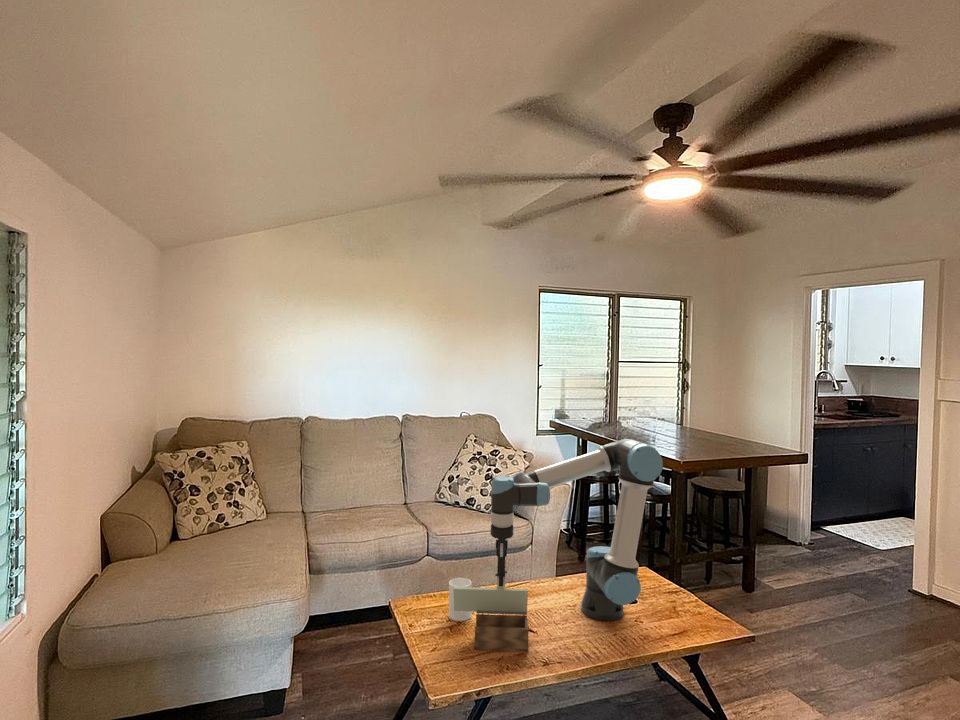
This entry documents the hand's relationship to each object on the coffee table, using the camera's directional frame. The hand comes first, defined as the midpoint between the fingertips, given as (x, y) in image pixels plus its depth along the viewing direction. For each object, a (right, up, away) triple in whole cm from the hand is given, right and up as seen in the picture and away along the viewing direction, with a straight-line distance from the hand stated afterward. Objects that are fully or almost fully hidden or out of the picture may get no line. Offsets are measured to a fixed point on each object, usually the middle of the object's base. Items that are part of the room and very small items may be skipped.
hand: (500, 594), depth 177 cm
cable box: (0, -14, -4) cm, 15 cm away
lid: (-4, -3, -1) cm, 4 cm away
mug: (-14, -14, +12) cm, 23 cm away
